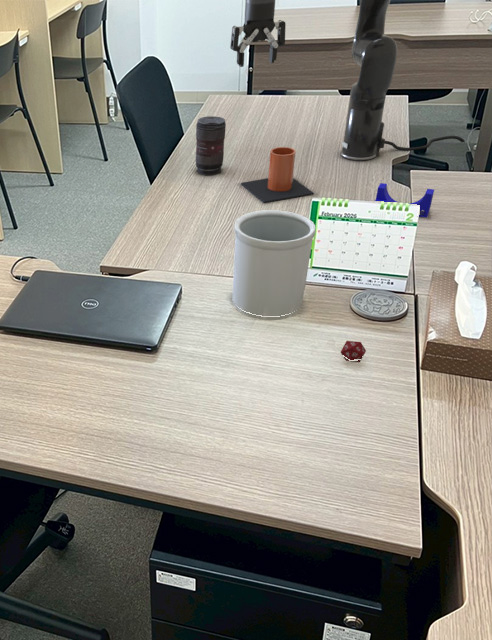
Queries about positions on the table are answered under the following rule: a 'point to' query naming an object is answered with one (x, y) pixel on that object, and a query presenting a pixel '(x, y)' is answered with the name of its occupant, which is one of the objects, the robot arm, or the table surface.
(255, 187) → the desk mat
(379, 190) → the blue cradle bracket
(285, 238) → the utensil holder
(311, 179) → the table surface
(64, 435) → the table surface
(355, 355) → the dice
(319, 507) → the table surface
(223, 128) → the camera lens
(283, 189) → the cup
